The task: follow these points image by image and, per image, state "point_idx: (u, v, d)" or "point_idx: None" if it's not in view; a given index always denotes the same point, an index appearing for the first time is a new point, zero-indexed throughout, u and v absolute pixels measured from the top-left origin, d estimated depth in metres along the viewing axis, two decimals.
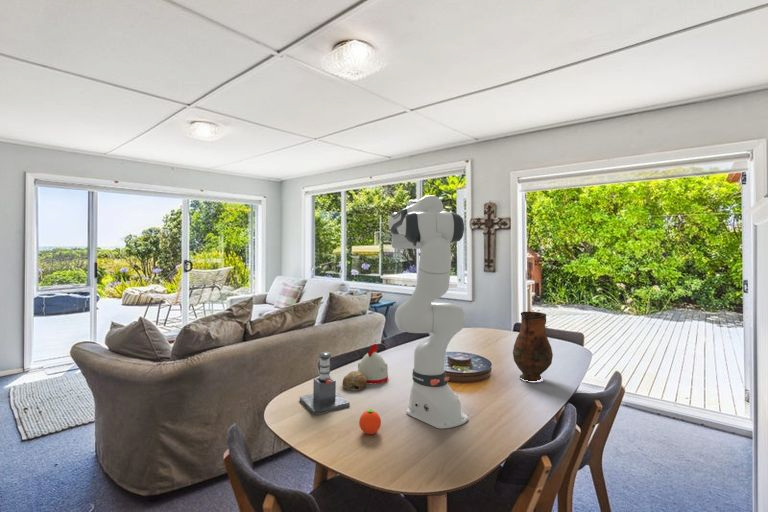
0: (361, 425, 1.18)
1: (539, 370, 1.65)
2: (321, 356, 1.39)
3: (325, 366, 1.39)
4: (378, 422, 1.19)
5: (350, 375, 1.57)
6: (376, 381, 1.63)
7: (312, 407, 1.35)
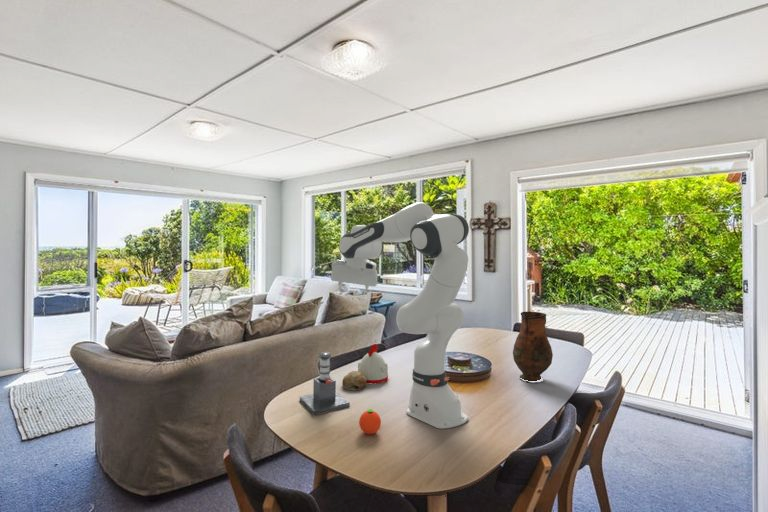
0: (361, 425, 1.18)
1: (539, 370, 1.65)
2: (321, 356, 1.39)
3: (325, 366, 1.39)
4: (378, 422, 1.19)
5: (350, 375, 1.57)
6: (376, 381, 1.63)
7: (312, 407, 1.35)
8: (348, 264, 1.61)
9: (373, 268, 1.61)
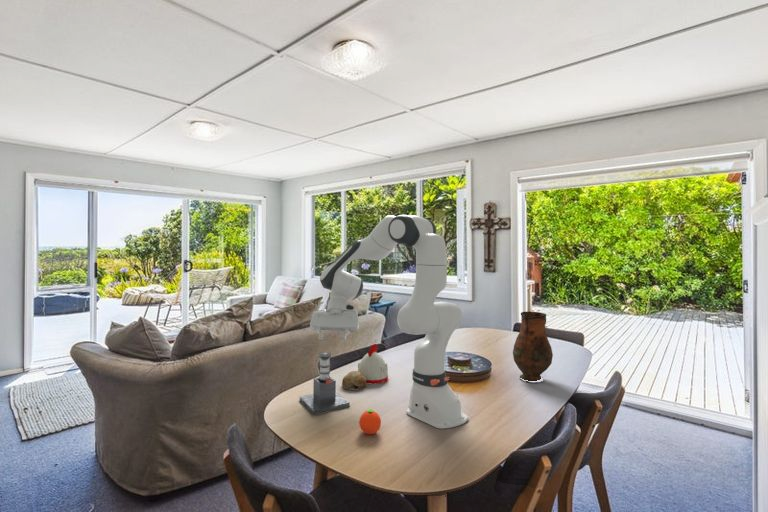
0: (361, 425, 1.18)
1: (539, 370, 1.65)
2: (321, 356, 1.39)
3: (325, 366, 1.39)
4: (378, 422, 1.19)
5: (350, 375, 1.57)
6: (376, 381, 1.63)
7: (312, 407, 1.35)
8: (328, 307, 1.59)
9: (354, 309, 1.58)
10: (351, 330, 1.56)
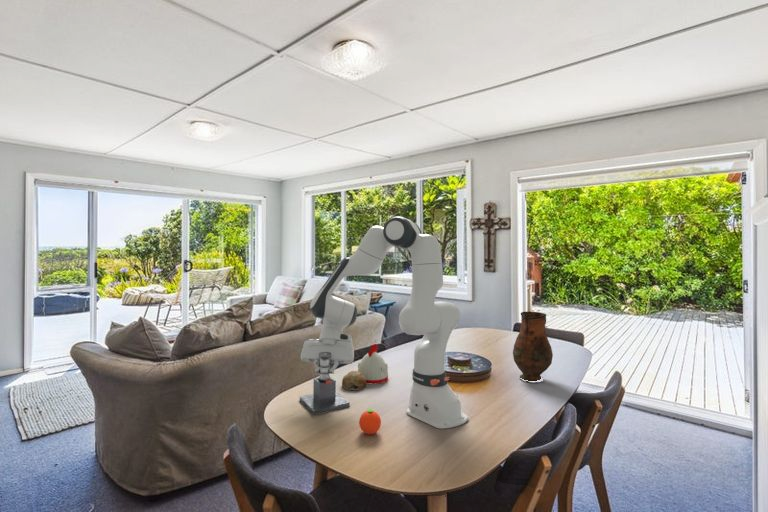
0: (361, 425, 1.18)
1: (539, 370, 1.65)
2: (321, 356, 1.39)
3: (325, 366, 1.39)
4: (378, 422, 1.19)
5: (349, 375, 1.58)
6: (376, 381, 1.63)
7: (312, 407, 1.35)
8: (321, 337, 1.47)
9: (348, 338, 1.46)
10: (345, 362, 1.44)
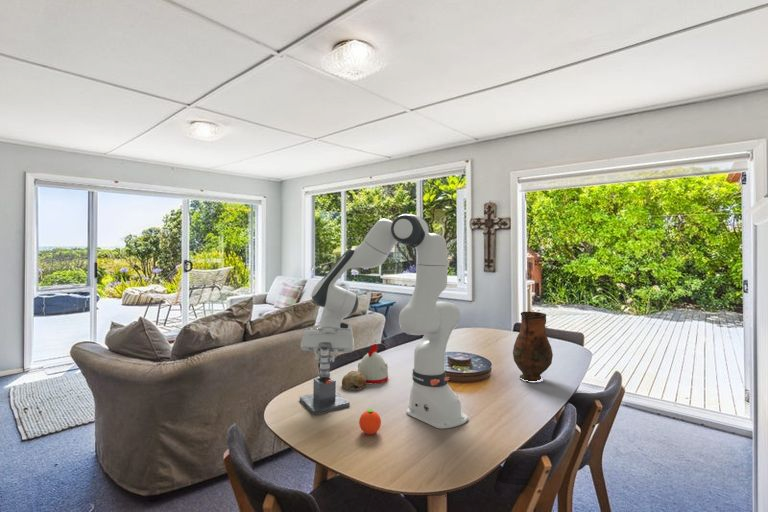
0: (361, 425, 1.18)
1: (539, 370, 1.65)
2: (321, 346, 1.39)
3: (325, 356, 1.39)
4: (378, 422, 1.19)
5: (349, 375, 1.58)
6: (376, 381, 1.63)
7: (312, 407, 1.35)
8: (321, 326, 1.47)
9: (348, 327, 1.46)
10: (345, 351, 1.44)
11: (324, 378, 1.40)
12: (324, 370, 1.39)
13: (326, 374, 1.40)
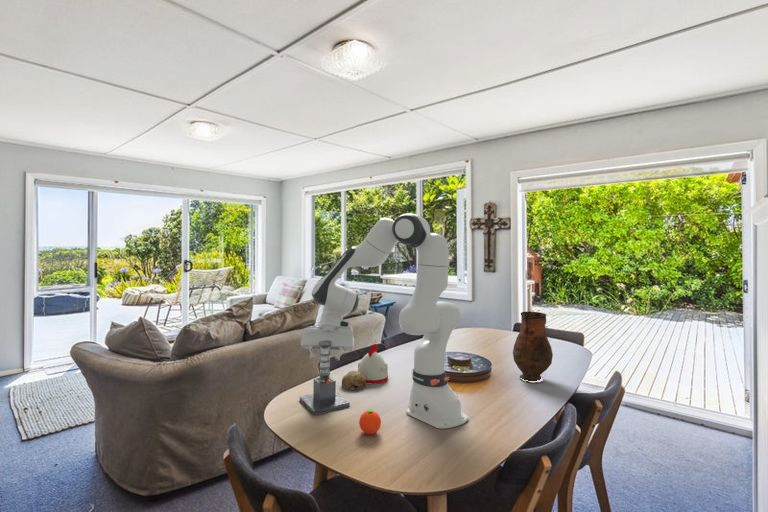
0: (361, 425, 1.18)
1: (539, 370, 1.65)
2: (321, 344, 1.39)
3: (325, 354, 1.39)
4: (378, 422, 1.19)
5: (349, 374, 1.58)
6: (376, 381, 1.63)
7: (312, 407, 1.35)
8: (321, 324, 1.47)
9: (348, 325, 1.46)
10: (345, 349, 1.44)
11: (324, 376, 1.40)
12: (324, 368, 1.39)
13: (326, 372, 1.40)
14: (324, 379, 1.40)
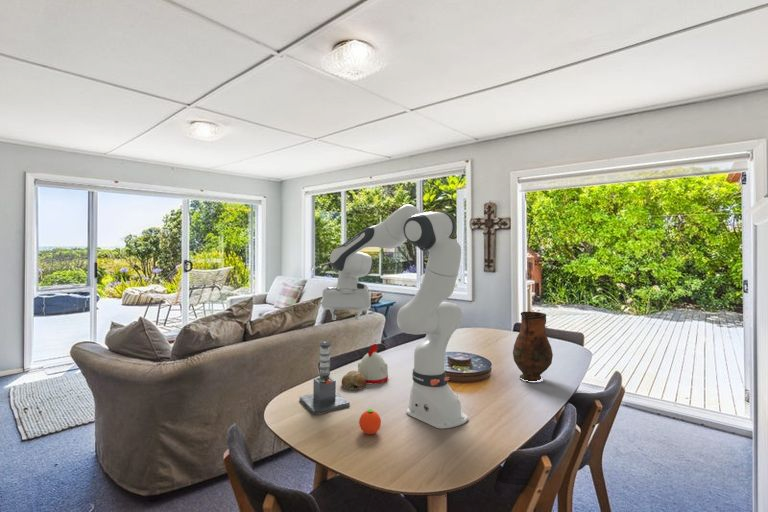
0: (361, 425, 1.18)
1: (539, 370, 1.65)
2: (321, 344, 1.39)
3: (325, 354, 1.39)
4: (378, 422, 1.19)
5: (349, 374, 1.58)
6: (376, 381, 1.63)
7: (312, 407, 1.35)
8: (339, 287, 1.58)
9: (364, 288, 1.57)
10: (363, 309, 1.57)
11: (324, 376, 1.40)
12: (324, 368, 1.39)
13: (326, 372, 1.40)
14: (324, 379, 1.40)
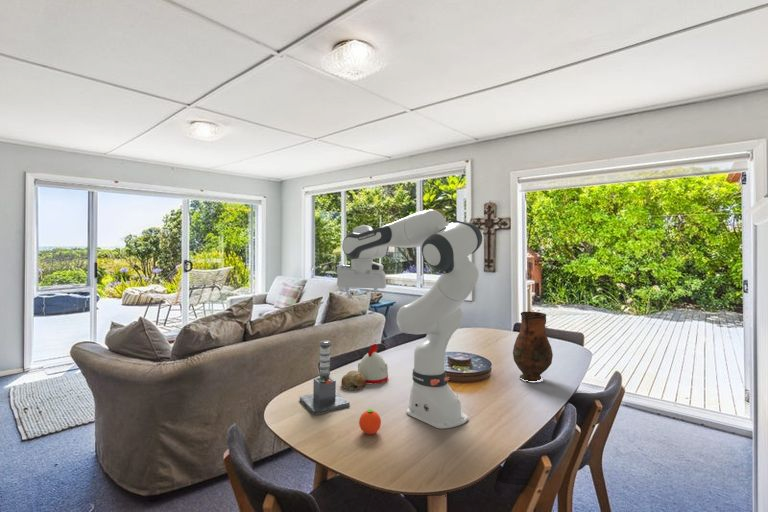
0: (361, 425, 1.18)
1: (539, 370, 1.65)
2: (321, 344, 1.39)
3: (325, 354, 1.39)
4: (378, 422, 1.19)
5: (349, 374, 1.58)
6: (376, 381, 1.63)
7: (312, 407, 1.35)
8: (353, 267, 1.53)
9: (379, 269, 1.52)
10: None
11: (324, 376, 1.40)
12: (324, 368, 1.39)
13: (326, 372, 1.40)
14: (324, 379, 1.40)
